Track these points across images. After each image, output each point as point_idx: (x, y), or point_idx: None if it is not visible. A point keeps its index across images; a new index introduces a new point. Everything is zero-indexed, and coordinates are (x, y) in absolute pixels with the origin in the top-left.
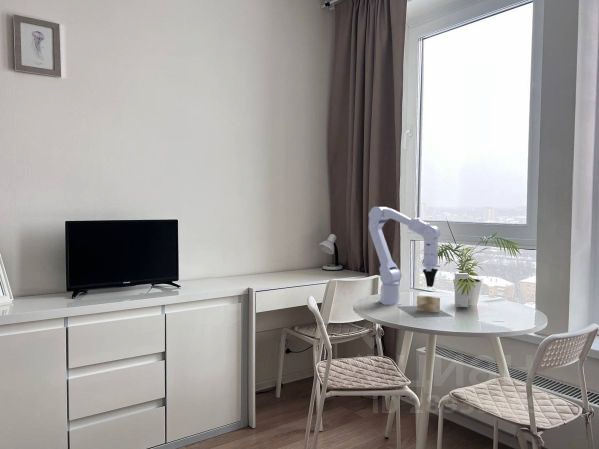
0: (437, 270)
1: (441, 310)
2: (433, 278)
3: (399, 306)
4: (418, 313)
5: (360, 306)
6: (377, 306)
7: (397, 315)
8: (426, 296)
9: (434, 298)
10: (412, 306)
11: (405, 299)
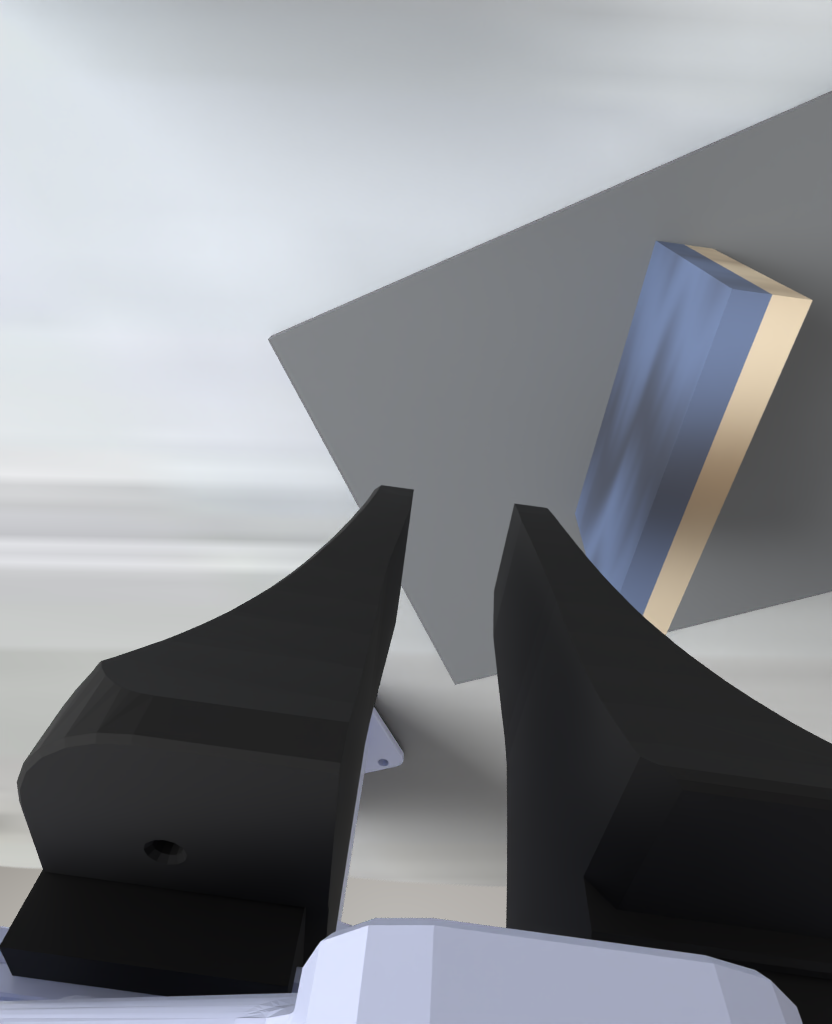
0: (343, 724)
1: (567, 208)
2: (658, 635)
3: (446, 664)
4: (786, 507)
5: (491, 876)
6: (456, 794)
7: (825, 675)
8: (677, 519)
9: (765, 389)
10: (407, 556)
11: (6, 603)
